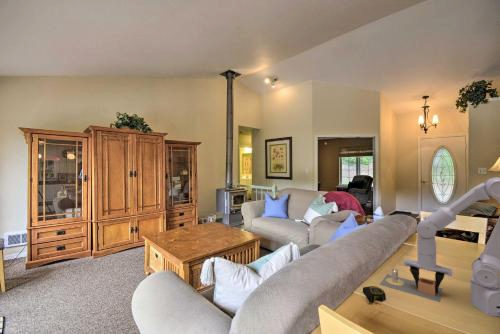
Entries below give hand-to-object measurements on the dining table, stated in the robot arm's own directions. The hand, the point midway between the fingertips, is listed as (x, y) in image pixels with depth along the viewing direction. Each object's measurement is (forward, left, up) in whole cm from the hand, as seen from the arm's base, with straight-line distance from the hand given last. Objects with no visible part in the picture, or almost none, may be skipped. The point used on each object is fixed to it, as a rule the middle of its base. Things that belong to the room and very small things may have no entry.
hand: (427, 289), depth 91 cm
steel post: (+6, +9, -2) cm, 11 cm away
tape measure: (-7, +21, -2) cm, 22 cm away
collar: (0, 0, -1) cm, 1 cm away
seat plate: (+3, +5, -2) cm, 6 cm away
